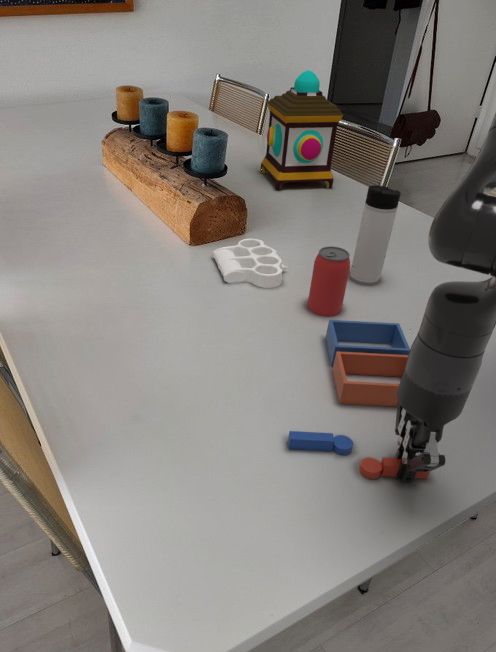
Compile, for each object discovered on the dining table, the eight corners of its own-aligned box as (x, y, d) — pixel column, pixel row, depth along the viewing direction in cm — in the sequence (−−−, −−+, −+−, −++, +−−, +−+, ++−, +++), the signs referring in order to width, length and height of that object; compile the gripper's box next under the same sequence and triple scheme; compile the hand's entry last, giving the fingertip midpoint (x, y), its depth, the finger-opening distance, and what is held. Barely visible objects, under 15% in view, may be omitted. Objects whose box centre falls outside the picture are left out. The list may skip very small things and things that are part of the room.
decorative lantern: (338, 192, 159) (358, 77, 141) (273, 194, 155) (285, 77, 137) (313, 170, 175) (329, 64, 156) (254, 172, 171) (263, 63, 152)
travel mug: (342, 279, 116) (361, 185, 104) (360, 270, 120) (380, 179, 107) (366, 291, 112) (389, 195, 100) (384, 281, 116) (408, 188, 104)
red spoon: (421, 468, 73) (426, 456, 72) (427, 484, 71) (432, 472, 70) (356, 464, 74) (360, 452, 72) (360, 480, 71) (364, 468, 70)
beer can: (299, 306, 106) (308, 249, 99) (324, 298, 109) (334, 242, 102) (323, 322, 102) (334, 263, 95) (348, 312, 105) (360, 255, 98)
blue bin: (393, 344, 97) (399, 323, 94) (403, 372, 91) (410, 350, 88) (324, 340, 97) (328, 319, 94) (330, 368, 91) (335, 346, 88)
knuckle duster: (209, 254, 123) (271, 250, 126) (227, 293, 109) (296, 288, 112) (210, 240, 121) (272, 236, 124) (228, 278, 107) (298, 273, 110)
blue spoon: (288, 454, 75) (290, 442, 73) (287, 440, 77) (289, 427, 75) (352, 458, 75) (355, 445, 73) (349, 443, 77) (352, 431, 75)
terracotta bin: (405, 377, 90) (412, 355, 87) (418, 410, 83) (426, 387, 80) (331, 373, 90) (336, 351, 87) (338, 406, 83) (343, 383, 80)
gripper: (494, 413, 56) (445, 518, 67) (454, 340, 67) (417, 440, 78) (422, 410, 56) (384, 515, 67) (393, 337, 67) (364, 437, 78)
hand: (402, 474), depth 72 cm, fingers closed on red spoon, 1 cm apart
